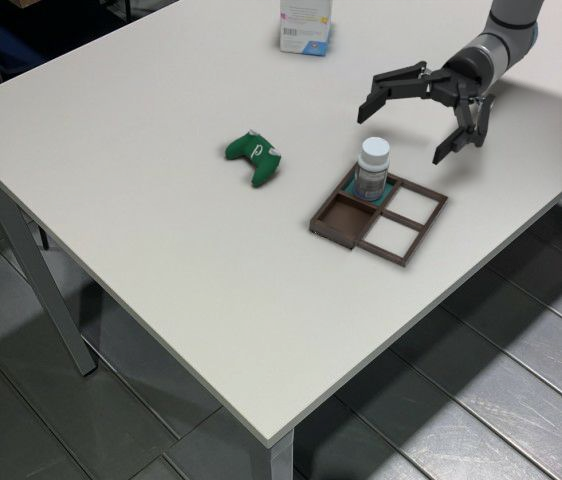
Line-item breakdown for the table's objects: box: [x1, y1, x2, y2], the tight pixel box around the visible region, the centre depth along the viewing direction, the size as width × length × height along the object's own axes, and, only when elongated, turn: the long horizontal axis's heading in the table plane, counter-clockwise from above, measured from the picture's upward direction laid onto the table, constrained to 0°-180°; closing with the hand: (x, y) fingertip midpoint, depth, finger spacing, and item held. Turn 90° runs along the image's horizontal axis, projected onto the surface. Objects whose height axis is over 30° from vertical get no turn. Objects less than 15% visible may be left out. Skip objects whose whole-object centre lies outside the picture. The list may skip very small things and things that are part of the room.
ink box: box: [279, 0, 334, 57], centre depth 111 cm, size 9×8×13 cm
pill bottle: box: [353, 136, 391, 201], centre depth 92 cm, size 5×5×8 cm
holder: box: [308, 161, 450, 268], centre depth 92 cm, size 15×15×2 cm
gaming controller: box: [224, 128, 282, 187], centre depth 97 cm, size 9×4×6 cm
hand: (396, 135), depth 91 cm, fingers open, 13 cm apart
